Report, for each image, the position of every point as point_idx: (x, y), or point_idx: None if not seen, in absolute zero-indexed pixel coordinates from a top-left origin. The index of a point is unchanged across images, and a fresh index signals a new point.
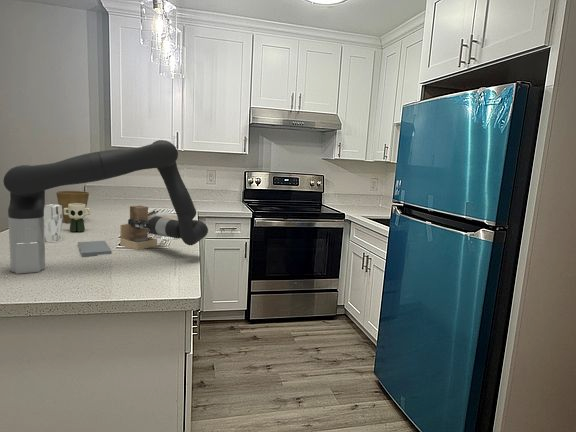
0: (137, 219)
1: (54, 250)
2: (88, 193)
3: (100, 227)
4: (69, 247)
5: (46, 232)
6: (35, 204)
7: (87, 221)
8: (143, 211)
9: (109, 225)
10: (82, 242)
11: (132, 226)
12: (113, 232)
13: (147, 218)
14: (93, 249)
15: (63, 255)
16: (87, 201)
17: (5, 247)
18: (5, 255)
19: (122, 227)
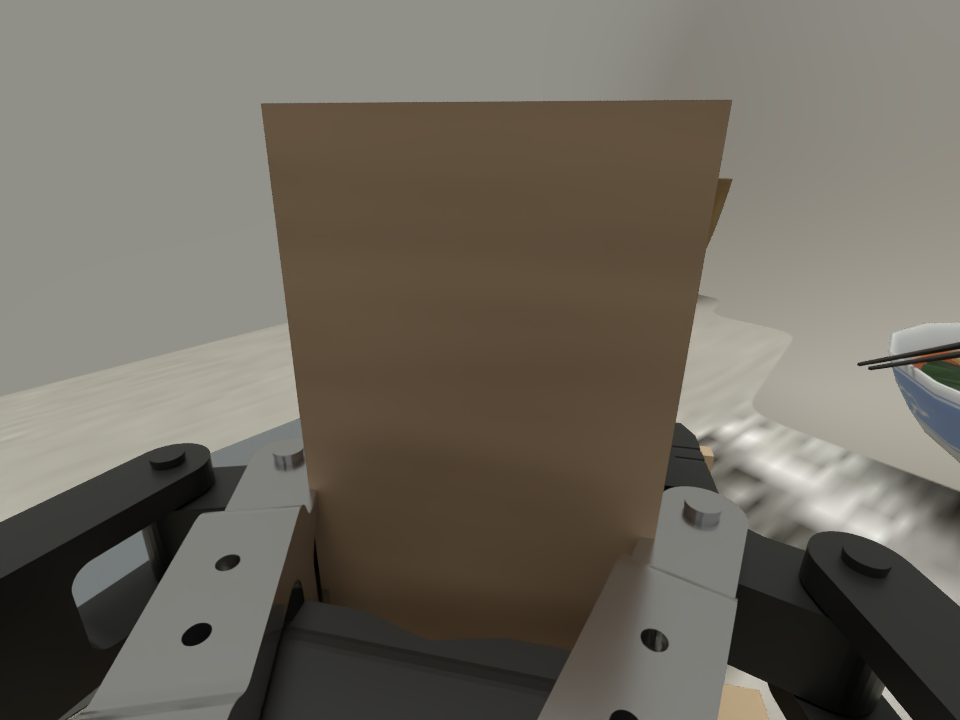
0: (317, 459)
1: (164, 429)
2: (720, 180)
3: (690, 343)
4: (251, 435)
5: None
6: None
7: (703, 303)
8: (485, 270)
9: (751, 342)
10: (298, 432)
11: (91, 601)
12: (684, 396)
13: (638, 519)
14: None
15: (5, 505)
16: (712, 218)
17: (209, 343)
18: (56, 383)
19: None
